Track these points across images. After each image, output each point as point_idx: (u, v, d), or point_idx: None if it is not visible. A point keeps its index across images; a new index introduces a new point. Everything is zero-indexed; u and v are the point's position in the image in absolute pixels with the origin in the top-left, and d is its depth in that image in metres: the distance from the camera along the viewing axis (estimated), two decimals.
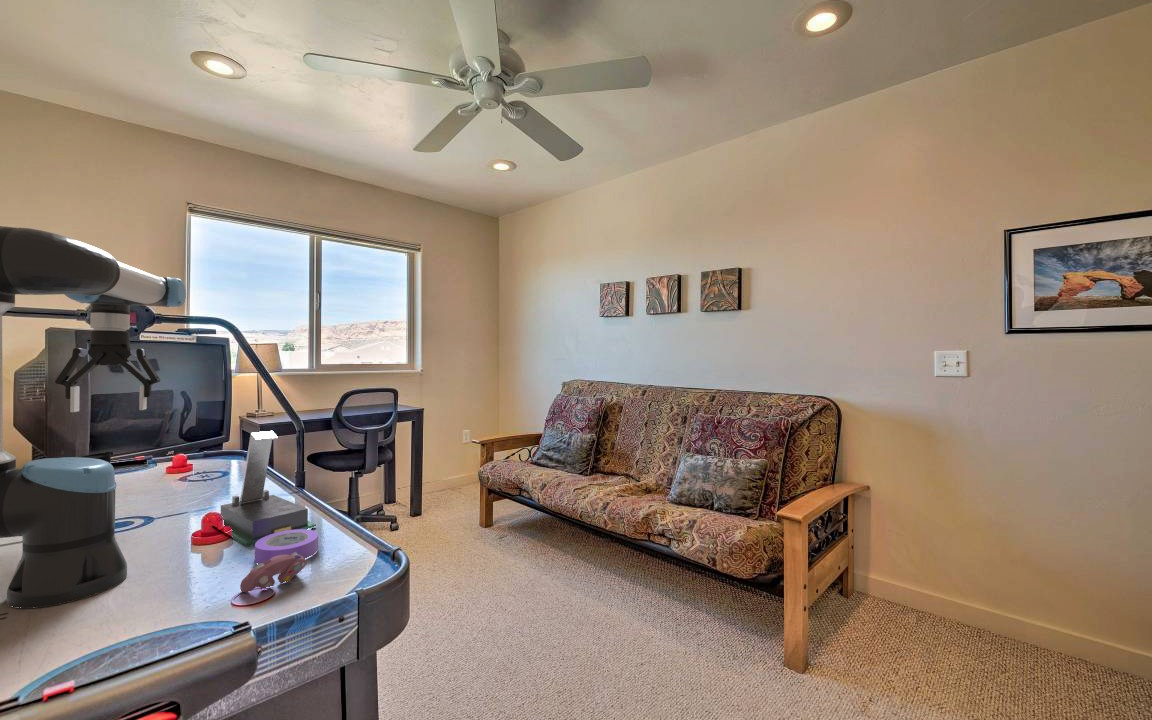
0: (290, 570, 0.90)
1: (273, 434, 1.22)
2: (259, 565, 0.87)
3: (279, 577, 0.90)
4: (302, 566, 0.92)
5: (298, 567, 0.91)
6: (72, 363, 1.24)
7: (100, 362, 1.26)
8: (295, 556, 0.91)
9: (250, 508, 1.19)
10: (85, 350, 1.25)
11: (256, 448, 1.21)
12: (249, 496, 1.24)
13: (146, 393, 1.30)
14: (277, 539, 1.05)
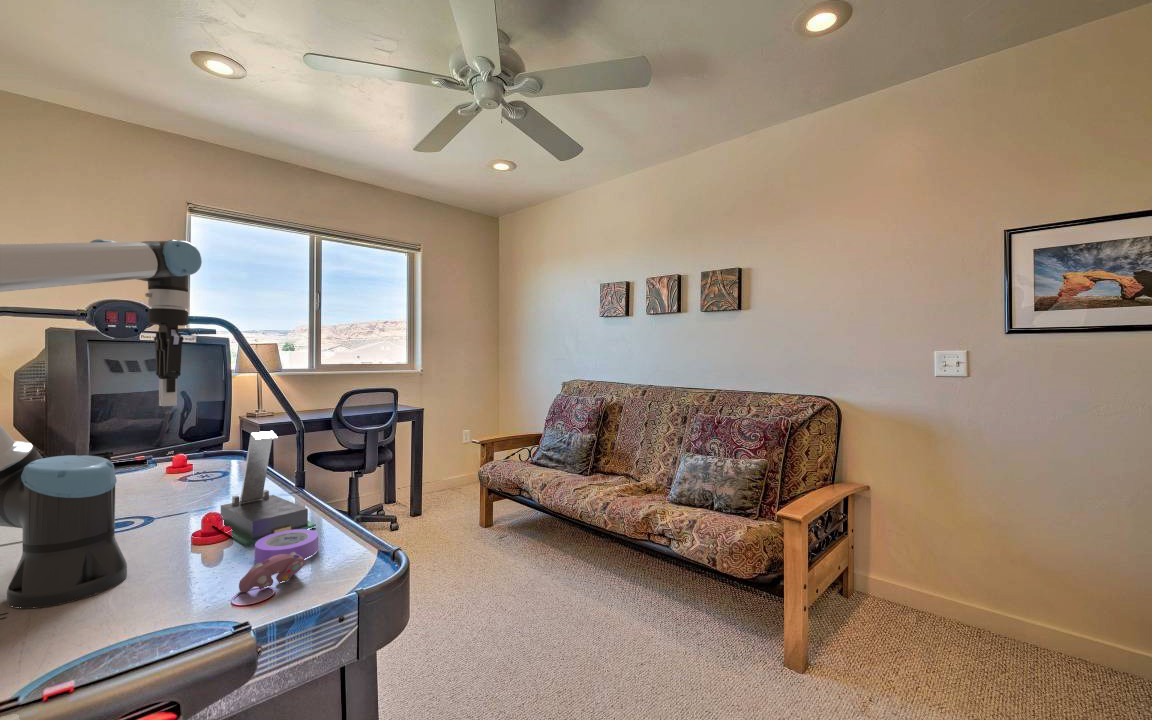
0: (288, 569, 0.90)
1: (273, 434, 1.22)
2: (257, 565, 0.87)
3: (277, 577, 0.90)
4: (300, 566, 0.92)
5: (297, 566, 0.91)
6: None
7: None
8: (293, 556, 0.91)
9: (250, 508, 1.19)
10: None
11: (256, 448, 1.21)
12: (249, 496, 1.24)
13: None
14: (277, 539, 1.05)
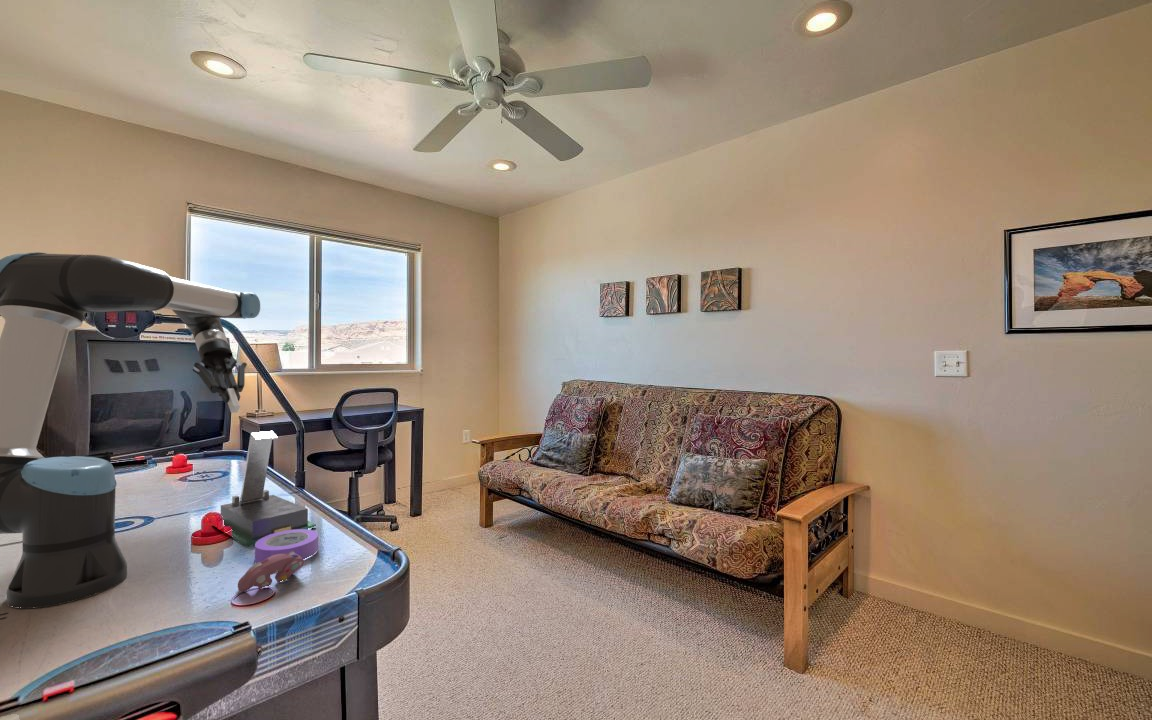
0: (287, 569, 0.91)
1: (273, 434, 1.22)
2: (256, 564, 0.87)
3: (276, 576, 0.90)
4: (299, 565, 0.93)
5: (295, 566, 0.92)
6: None
7: None
8: (292, 555, 0.91)
9: (250, 508, 1.19)
10: None
11: (256, 448, 1.21)
12: (249, 496, 1.24)
13: None
14: (277, 539, 1.05)
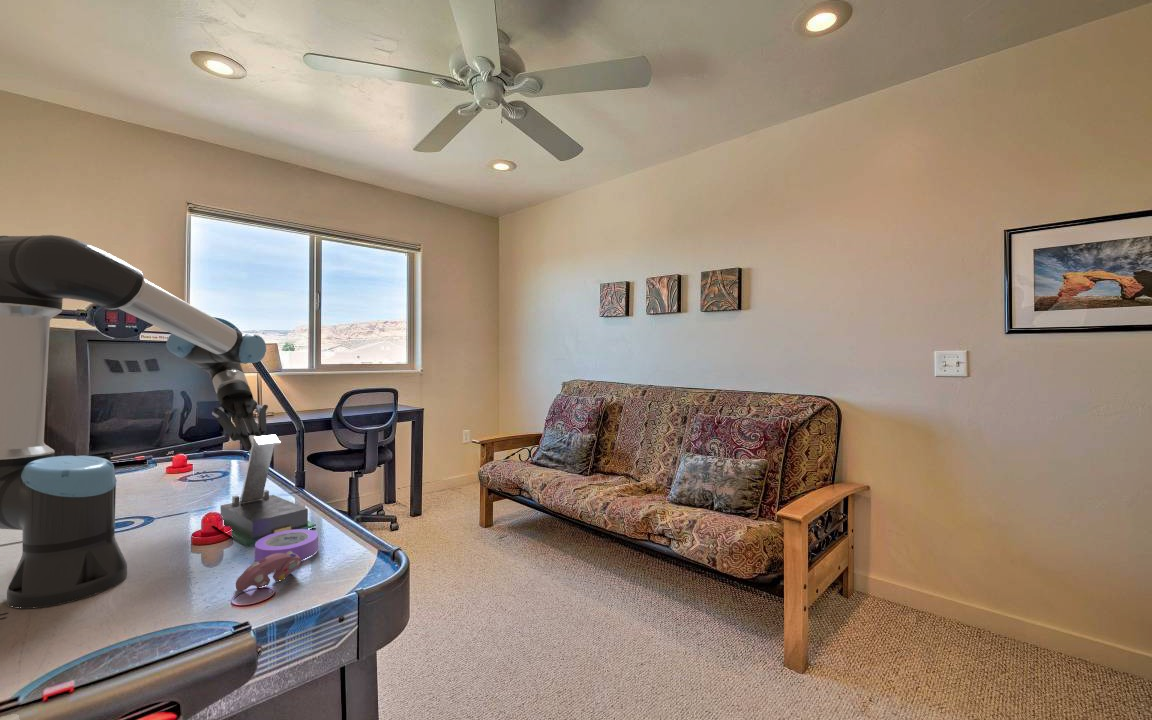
0: (285, 568, 0.91)
1: (276, 439, 1.21)
2: (254, 564, 0.87)
3: (274, 575, 0.91)
4: (297, 564, 0.93)
5: (293, 565, 0.92)
6: None
7: None
8: (290, 555, 0.91)
9: (250, 508, 1.19)
10: None
11: (258, 451, 1.20)
12: (249, 496, 1.24)
13: None
14: (277, 539, 1.05)
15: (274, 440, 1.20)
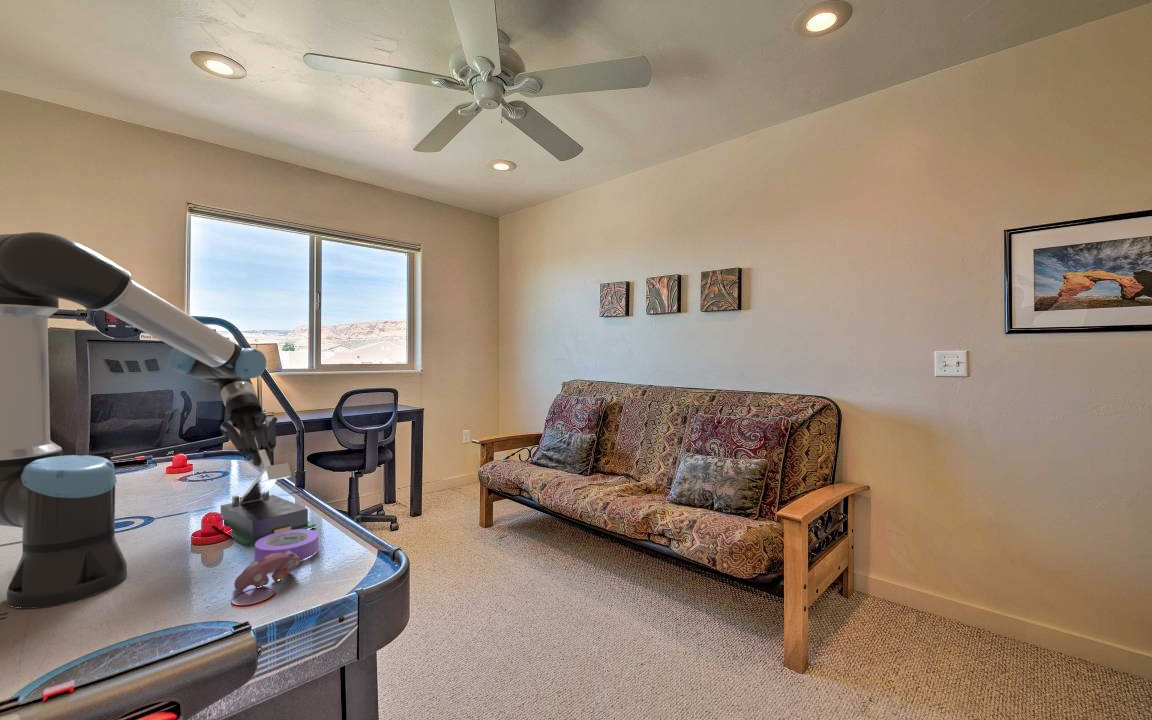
0: (284, 568, 0.91)
1: (288, 471, 1.17)
2: (253, 563, 0.87)
3: (273, 575, 0.91)
4: (296, 564, 0.93)
5: (292, 565, 0.92)
6: None
7: None
8: (289, 554, 0.92)
9: (250, 508, 1.19)
10: None
11: (267, 475, 1.17)
12: (249, 499, 1.24)
13: None
14: (277, 539, 1.05)
15: (285, 473, 1.16)
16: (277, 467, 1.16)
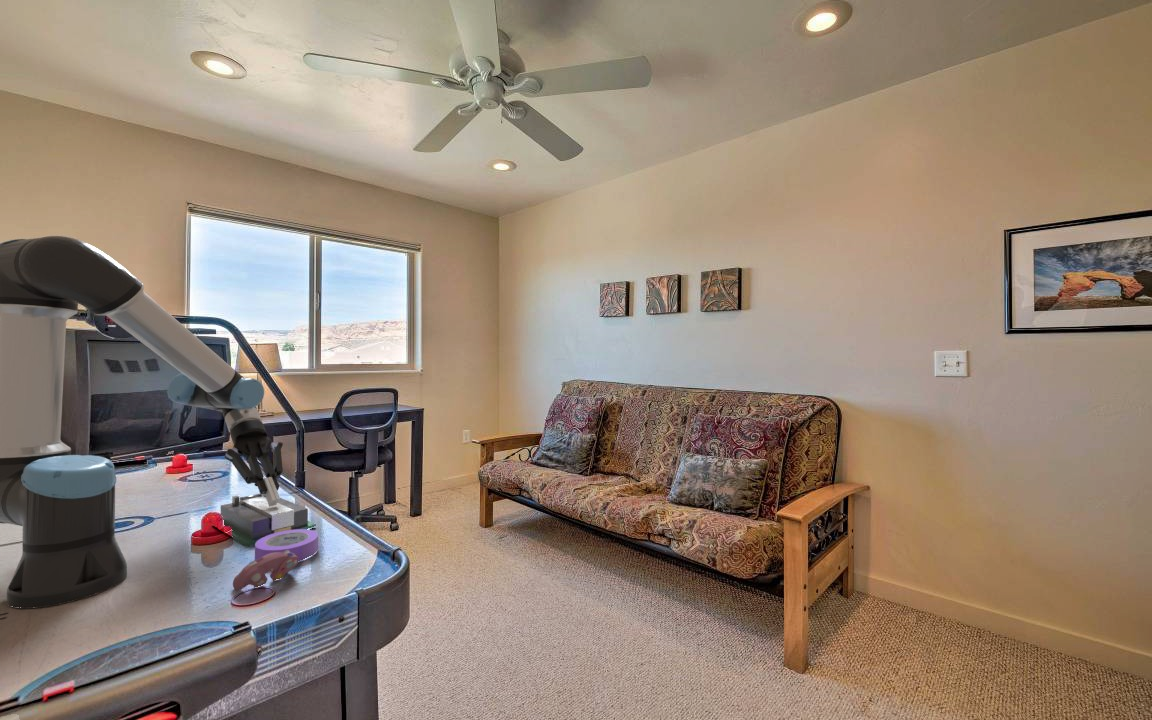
0: (282, 567, 0.91)
1: (291, 519, 1.16)
2: (252, 563, 0.87)
3: (271, 575, 0.91)
4: (294, 564, 0.93)
5: (291, 564, 0.92)
6: None
7: None
8: (287, 554, 0.92)
9: (250, 508, 1.19)
10: None
11: None
12: None
13: None
14: (277, 539, 1.05)
15: (289, 522, 1.15)
16: (282, 516, 1.14)
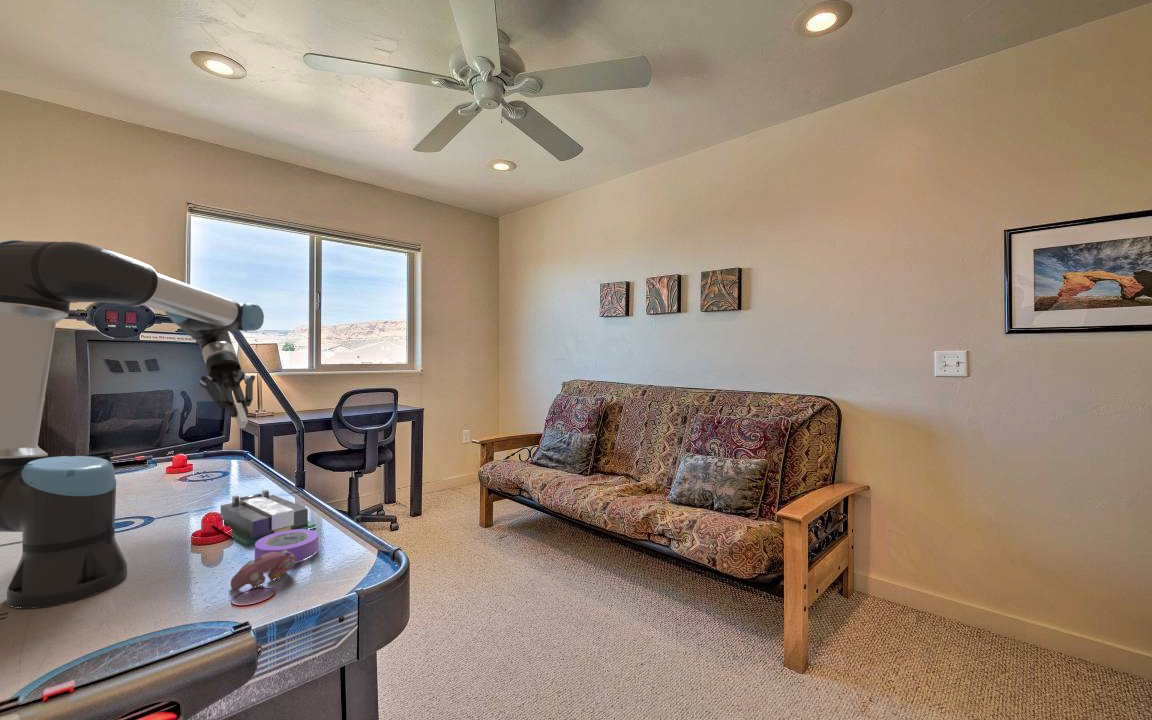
0: (280, 567, 0.91)
1: (291, 519, 1.16)
2: (249, 562, 0.88)
3: (269, 574, 0.91)
4: (292, 563, 0.93)
5: (288, 564, 0.92)
6: None
7: None
8: (285, 553, 0.92)
9: (250, 508, 1.19)
10: None
11: None
12: None
13: None
14: (277, 539, 1.05)
15: (289, 522, 1.15)
16: (282, 516, 1.14)
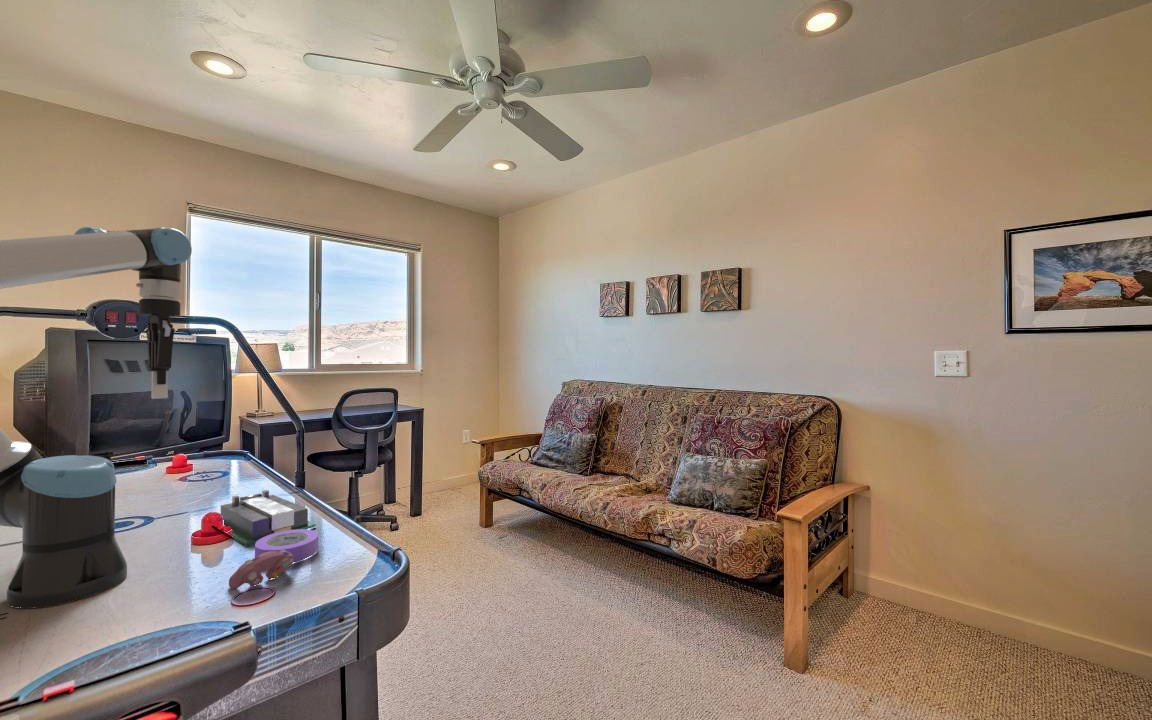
0: (278, 566, 0.92)
1: (291, 519, 1.16)
2: (247, 562, 0.88)
3: (267, 573, 0.91)
4: (290, 562, 0.94)
5: (286, 563, 0.93)
6: None
7: None
8: (283, 553, 0.92)
9: (250, 508, 1.19)
10: None
11: None
12: None
13: None
14: (277, 539, 1.05)
15: (289, 522, 1.15)
16: (282, 516, 1.14)
